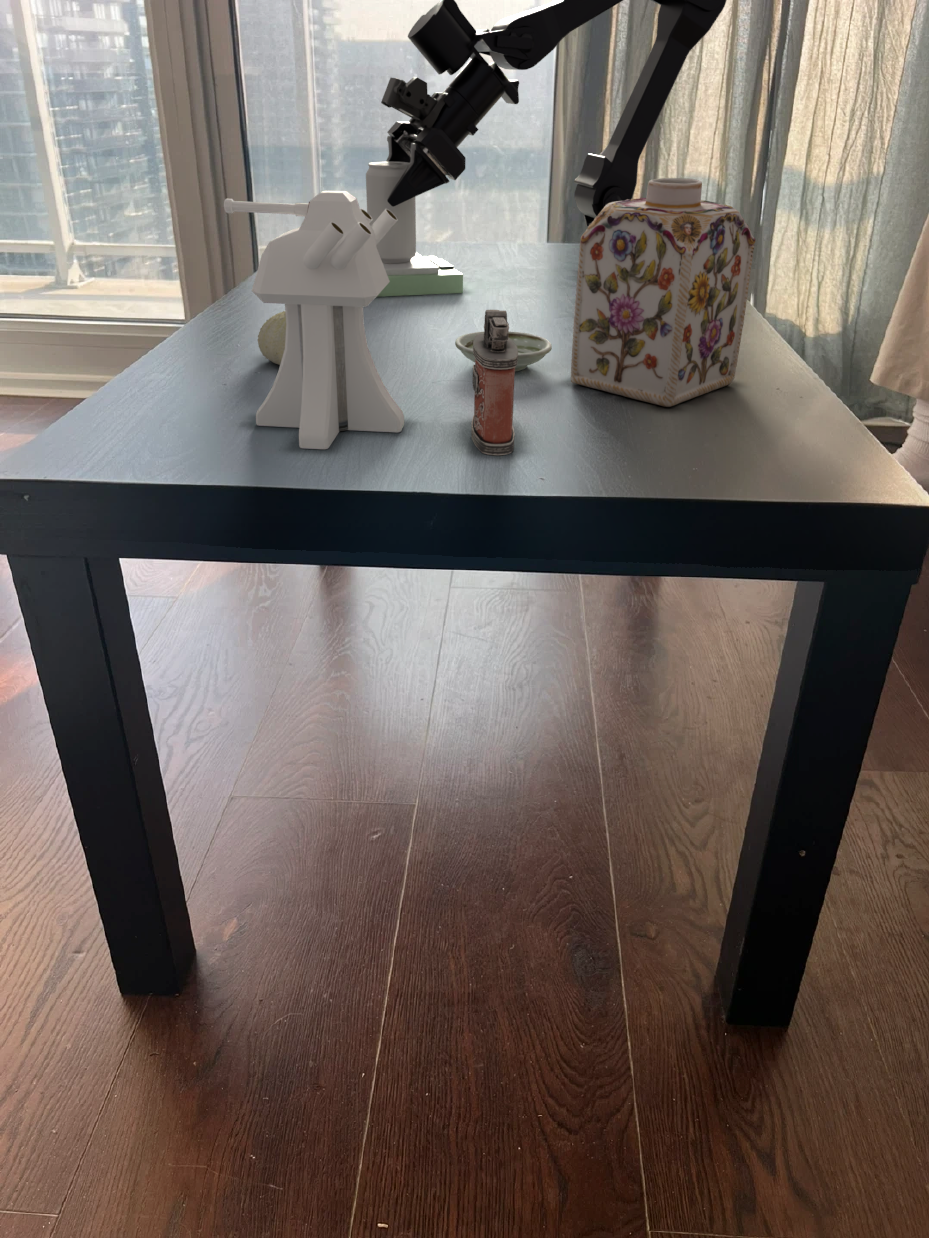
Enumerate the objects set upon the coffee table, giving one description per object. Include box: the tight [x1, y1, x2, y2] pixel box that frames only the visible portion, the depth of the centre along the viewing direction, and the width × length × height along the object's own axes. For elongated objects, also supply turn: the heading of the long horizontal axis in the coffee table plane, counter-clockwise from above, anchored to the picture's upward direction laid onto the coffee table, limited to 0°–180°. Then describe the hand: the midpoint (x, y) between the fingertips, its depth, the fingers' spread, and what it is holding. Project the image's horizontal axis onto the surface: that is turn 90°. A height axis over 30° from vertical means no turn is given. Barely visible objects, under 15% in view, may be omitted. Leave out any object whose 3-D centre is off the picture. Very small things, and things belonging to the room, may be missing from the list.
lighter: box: [470, 309, 518, 456], centre depth 77 cm, size 8×3×10 cm, turn 5°
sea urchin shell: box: [257, 310, 286, 366], centre depth 98 cm, size 9×8×8 cm
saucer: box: [454, 330, 553, 372], centre depth 98 cm, size 10×10×2 cm
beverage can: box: [365, 161, 417, 264], centre depth 129 cm, size 6×6×12 cm
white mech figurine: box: [223, 190, 405, 450], centre depth 77 cm, size 12×13×18 cm
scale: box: [376, 251, 464, 298], centre depth 132 cm, size 16×14×3 cm
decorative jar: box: [570, 177, 756, 408], centre depth 89 cm, size 12×12×18 cm
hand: (381, 199), depth 127 cm, fingers open, 9 cm apart
